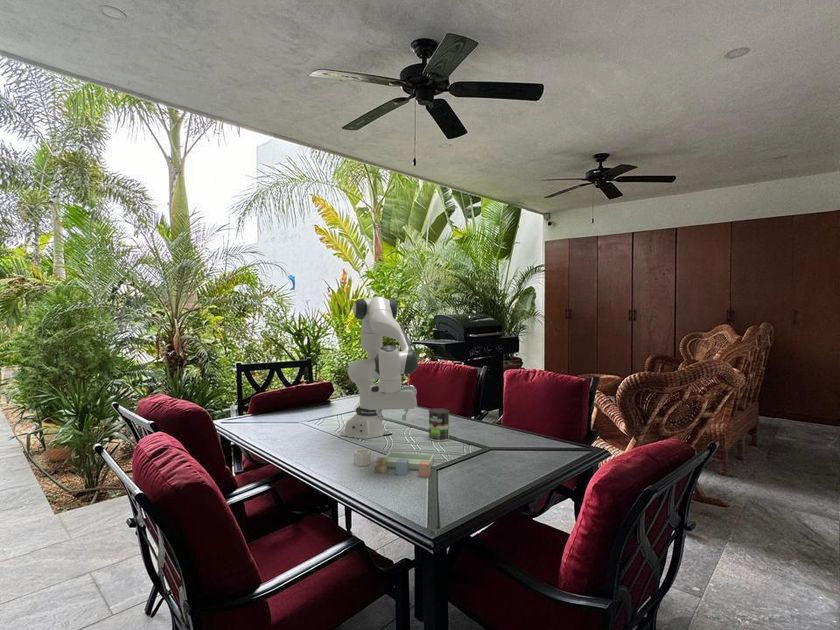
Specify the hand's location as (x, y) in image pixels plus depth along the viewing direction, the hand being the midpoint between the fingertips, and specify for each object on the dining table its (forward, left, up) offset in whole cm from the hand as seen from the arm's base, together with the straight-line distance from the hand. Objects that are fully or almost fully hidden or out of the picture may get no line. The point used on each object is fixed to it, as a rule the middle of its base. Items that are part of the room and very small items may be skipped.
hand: (392, 419), depth 177 cm
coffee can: (+12, +45, -20) cm, 51 cm away
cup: (-14, +4, -20) cm, 25 cm away
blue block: (+5, -3, -20) cm, 21 cm away
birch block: (-4, -3, -20) cm, 21 cm away
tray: (+5, +7, -20) cm, 22 cm away
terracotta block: (+14, -3, -20) cm, 25 cm away
